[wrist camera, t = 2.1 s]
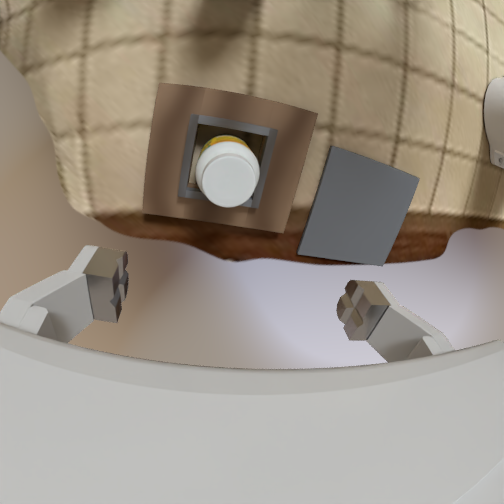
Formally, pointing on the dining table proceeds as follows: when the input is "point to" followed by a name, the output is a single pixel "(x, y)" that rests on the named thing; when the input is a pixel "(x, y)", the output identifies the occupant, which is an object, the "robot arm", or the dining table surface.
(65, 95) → the dining table surface
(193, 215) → the walnut stand
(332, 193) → the slate mat
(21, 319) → the robot arm
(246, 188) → the supplement bottle
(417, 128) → the dining table surface
